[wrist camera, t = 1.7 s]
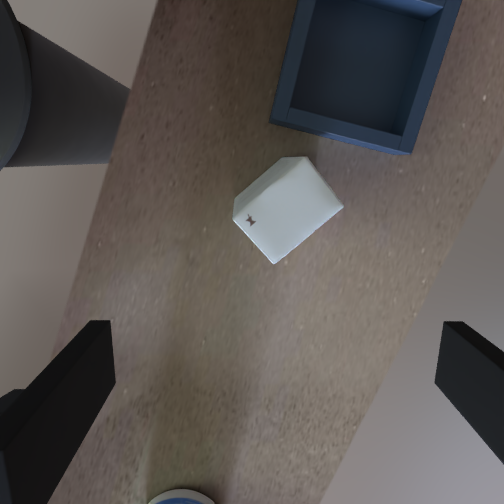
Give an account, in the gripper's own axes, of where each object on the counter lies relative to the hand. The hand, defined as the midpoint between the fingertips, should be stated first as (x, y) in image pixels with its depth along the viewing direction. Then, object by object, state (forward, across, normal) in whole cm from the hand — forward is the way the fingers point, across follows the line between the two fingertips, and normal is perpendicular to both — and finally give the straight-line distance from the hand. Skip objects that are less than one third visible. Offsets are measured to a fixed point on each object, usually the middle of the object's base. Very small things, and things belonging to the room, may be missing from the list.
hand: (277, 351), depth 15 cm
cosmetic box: (+22, +1, +4) cm, 22 cm away
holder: (+22, +8, +15) cm, 28 cm away
